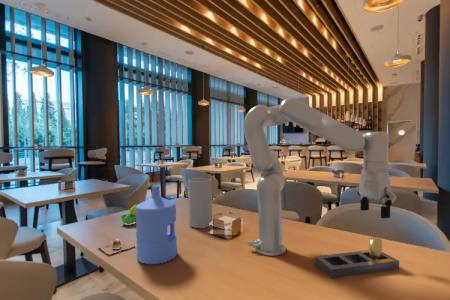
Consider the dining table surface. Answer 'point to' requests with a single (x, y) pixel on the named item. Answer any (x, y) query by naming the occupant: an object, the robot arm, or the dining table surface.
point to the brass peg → (375, 249)
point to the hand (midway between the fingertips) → (374, 213)
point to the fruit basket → (130, 216)
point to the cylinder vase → (200, 202)
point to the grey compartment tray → (354, 264)
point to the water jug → (156, 229)
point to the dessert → (116, 243)
